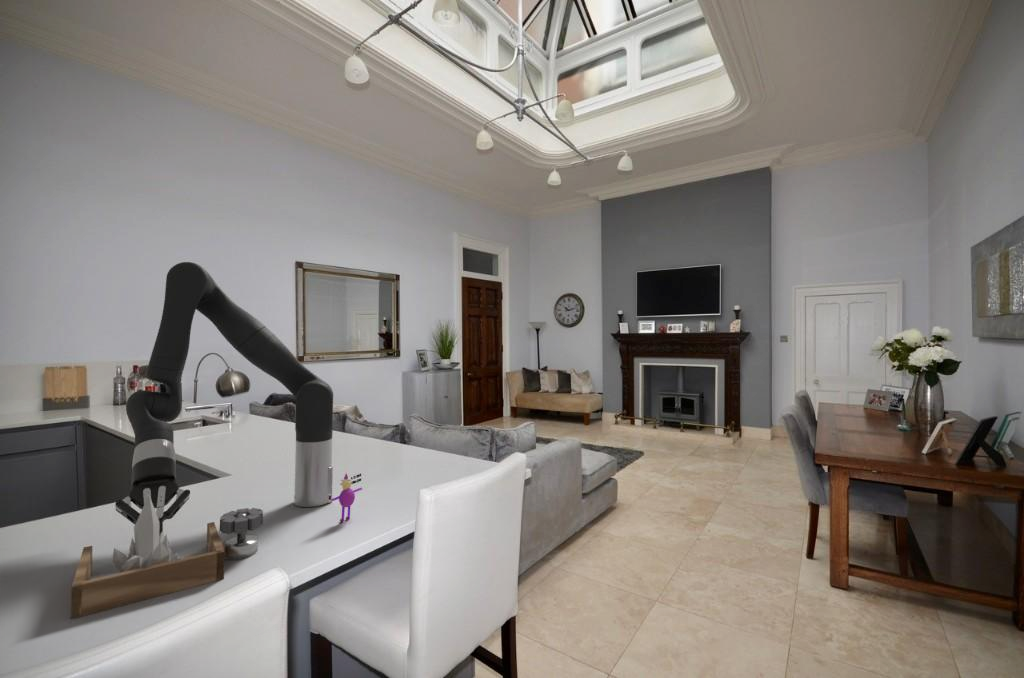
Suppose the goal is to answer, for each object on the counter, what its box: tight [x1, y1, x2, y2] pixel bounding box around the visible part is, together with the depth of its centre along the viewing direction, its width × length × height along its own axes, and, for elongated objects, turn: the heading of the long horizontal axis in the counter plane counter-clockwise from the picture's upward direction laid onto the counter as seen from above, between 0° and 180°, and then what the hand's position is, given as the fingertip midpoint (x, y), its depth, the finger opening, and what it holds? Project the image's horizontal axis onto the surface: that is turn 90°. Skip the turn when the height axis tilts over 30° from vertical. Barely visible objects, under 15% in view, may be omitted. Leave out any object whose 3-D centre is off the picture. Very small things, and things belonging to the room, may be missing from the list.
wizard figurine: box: [328, 472, 364, 523], centre depth 111 cm, size 11×3×12 cm, turn 155°
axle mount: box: [223, 513, 259, 561], centre depth 94 cm, size 6×6×8 cm
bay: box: [70, 521, 225, 620], centre depth 84 cm, size 17×20×5 cm
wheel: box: [219, 507, 264, 535], centre depth 94 cm, size 8×8×2 cm
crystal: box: [112, 496, 180, 573], centre depth 83 cm, size 10×13×15 cm
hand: (153, 539), depth 91 cm, fingers closed
